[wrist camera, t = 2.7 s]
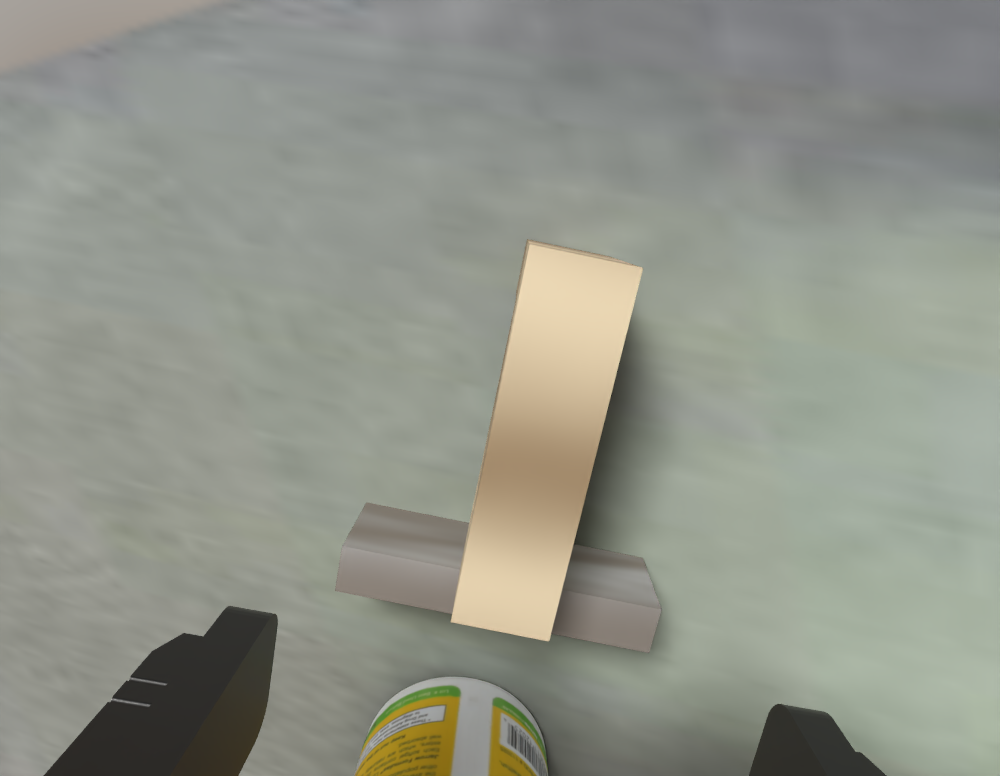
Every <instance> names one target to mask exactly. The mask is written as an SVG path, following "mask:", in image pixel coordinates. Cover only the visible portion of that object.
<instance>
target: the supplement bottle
mask: <svg viewBox="0 0 1000 776" xmlns="http://www.w3.org/2000/svg"><path fill="white" fill-rule="evenodd" d="M354 776H548V766H547V757H546V750H545V744H544V740H543V737H542V734H541V731H540V729H539V727H538V725H537V723H536V721H535V719H534V718H533V716H532V715H531V713H530V712H529V711H528V710H527V708H526V707H525V706H524V705H523V704H522V703H521V702H520V701H519V700H518V699H517V698H515V697H514V696H513V695H511V694H510V693H509V692H507V691H505V690H504V689H502V688H500V687H498V686H496V685H494V684H491V683H488V682H485V681H482V680H478V679H474V678H467V677H440V678H434V679H429V680H425V681H422V682H419V683H416V684H414V685H412V686H409V687H407V688H406V689H404V690H402V691H400V692H399V693H397V694H396V695H395V696H393V697H392V698H391V699H390V700H389V701H388V702H387V703H386V704H385V705H384V706H383V707H382V709H381V710H380V711H379V713H378V714H377V716H376V717H375V719H374V721H373V722H372V724H371V726H370V729H369V732H368V734H367V737H366V740H365V742H364V745H363V748H362V752H361V755H360V758H359V761H358V765H357V768H356V772H355V775H354Z"/></svg>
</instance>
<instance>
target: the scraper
mask: <svg viewBox="0 0 1000 776" xmlns="http://www.w3.org/2000/svg"><path fill="white" fill-rule="evenodd" d="M642 270H643V268H641V267H638V266H635V265H633V264H630V263H627V262H624V261H621V260H618V259H615V258H612V257H609V256H604V255H600V254H595V253H590V252H585V251H580V250H576V249H571V248H566V247H561V246H557V245H552V244H547V243H542V242H537V241H533V240H528V239H527V242H526V247H525V252H524V257H523V262H522V267H521V271H520V276H519V281H518V286H517V291H516V302H515V307H514V311H513V316H512V321H511V326H510V331H509V335H508V340H507V345H506V350H505V355H504V359H503V364H502V369H501V374H500V379H499V383H498V388H497V393H496V398H495V403H494V407H493V412H492V417H491V422H490V427H489V431H488V436H487V441H486V446H485V451H484V456H483V460H482V465H481V470H480V475H479V480H478V484H477V489H476V494H475V499H474V504H473V508H472V513H471V518H470V523H466V522H461V521H456V520H451V519H446V518H441V517H436V516H431V515H426V514H421V513H416V512H411V511H406V510H401V509H396V508H391V507H386V506H381V505H376V504H371V503H366V504H365V506H364V508H363V510H362V511H361V513H360V515H359V517H358V519H357V520H356V522H355V524H354V526H353V527H352V529H351V531H350V533H349V535H348V536H347V538H346V540H345V542H344V544H343V545H342V550H341V556H340V563H339V569H338V575H337V582H336V588H335V591H339V592H344V593H349V594H354V595H359V596H364V597H369V598H374V599H379V600H384V601H389V602H394V603H399V604H404V605H409V606H414V607H419V608H424V609H430V610H435V611H440V612H445V613H450V614H452V618H451V622H453V623H458V624H463V625H468V626H473V627H478V628H483V629H488V630H493V631H498V632H503V633H509V634H514V635H519V636H524V637H529V638H534V639H539V640H544V641H549V640H550V636H551V634H556V635H561V636H566V637H571V638H576V639H581V640H586V641H591V642H596V643H601V644H607V645H612V646H617V647H622V648H627V649H632V650H637V651H642V652H647V653H649V651H650V648H651V645H652V641H653V638H654V634H655V631H656V628H657V624H658V621H659V618H660V614H661V611H662V609H661V606H660V603H659V601H658V598H657V595H656V593H655V590H654V587H653V584H652V582H651V579H650V576H649V574H648V571H647V568H646V565H645V563H644V560H643V558H641V557H636V556H631V555H626V554H621V553H616V552H611V551H606V550H601V549H596V548H591V547H586V546H581V545H576V544H574V540H575V537H576V533H577V529H578V525H579V521H580V517H581V513H582V509H583V505H584V501H585V497H586V493H587V489H588V485H589V481H590V477H591V473H592V469H593V465H594V461H595V457H596V453H597V449H598V445H599V441H600V437H601V433H602V429H603V425H604V421H605V417H606V413H607V409H608V405H609V401H610V398H611V394H612V390H613V386H614V382H615V378H616V374H617V370H618V366H619V362H620V358H621V354H622V350H623V346H624V342H625V338H626V334H627V330H628V326H629V322H630V318H631V314H632V310H633V306H634V302H635V298H636V294H637V290H638V286H639V282H640V278H641V274H642Z"/></svg>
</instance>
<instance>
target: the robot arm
mask: <svg viewBox="0 0 1000 776" xmlns="http://www.w3.org/2000/svg"><path fill="white" fill-rule="evenodd" d="M277 625H278V619H277V615H276V614H272V613H267V612H261V611H255V610H250V609H244V608H238V607H233V606H228V607H227V608H226V609H225V610H224V611H223V612H222V613H221V615H220V616H219V617H218V619H217V620H216V621H215V622H214V624H213V625H212V626H211V628H210V629H209V630H208V631H207V633H206V634H205V635H204V637H203V636H197V635H192V634H186V633H183V634H181V635H180V636H178V637H176V638H174V639H173V640H171V641H169V642H167V643H166V644H164V645H162V646H161V647H159V648H157V649H155V650H154V651H152V652H151V653H150V654H149V656H148V657H147V658H146V659H145V660H144V661H143V662H142V664H141V665H140V666H139V667H138V668H137V669H136V670H135V672H134V673H133V674H132V675H131V677H130V680H129V681H126V682H125V683H124V684H123V685H122V686H121V688H120V689H119V690H118V691H117V692H116V693H115V695H114V696H113V698H112V700H111V702H108V703H107V704H106V705H105V706H104V707H103V708H102V709H101V711H100V712H99V713H98V714H97V715H96V716H95V717H94V719H93V720H92V721H91V722H90V723H89V724H88V725H87V727H86V728H85V729H84V730H83V731H82V732H81V734H80V735H79V736H78V737H77V738H76V739H75V740H74V742H73V743H72V744H71V745H70V746H69V747H68V748H67V750H66V751H65V752H64V753H63V754H62V755H61V756H60V758H59V759H58V760H57V761H56V762H55V763H54V764H53V766H52V767H51V768H50V769H49V770H48V771H47V773H46V774H45V775H44V776H238V775H239V773H240V771H241V769H242V767H243V765H244V763H245V761H246V759H247V757H248V755H249V753H250V751H251V749H252V748H253V746H254V743H255V741H256V739H257V737H258V734H259V731H260V728H261V725H262V722H263V719H264V715H265V712H266V707H267V702H268V696H269V689H270V681H271V673H272V665H273V657H274V650H275V642H276V634H277ZM749 776H886V775H885V774H884V773H883V772H882V771H881V770H880V769H879V768H877V767H876V766H875V765H874V764H873V763H872V762H871V761H870V760H869V759H867V758H866V757H865V756H864V755H863V754H862V753H860V752H855V751H854V749H853V748H852V746H851V745H850V743H849V742H848V740H847V739H846V737H845V736H844V734H843V733H842V732H841V730H840V729H839V727H838V726H837V724H836V723H835V721H834V720H833V718H832V717H831V716H830V715H829V714H828V713H826V712H822V711H816V710H811V709H805V708H799V707H794V706H788V705H782V704H777V705H775V706H773V708H772V709H771V710H770V712H769V714H768V717H767V720H766V723H765V727H764V730H763V733H762V736H761V739H760V742H759V745H758V749H757V752H756V755H755V758H754V761H753V764H752V767H751V771H750V774H749Z"/></svg>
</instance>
